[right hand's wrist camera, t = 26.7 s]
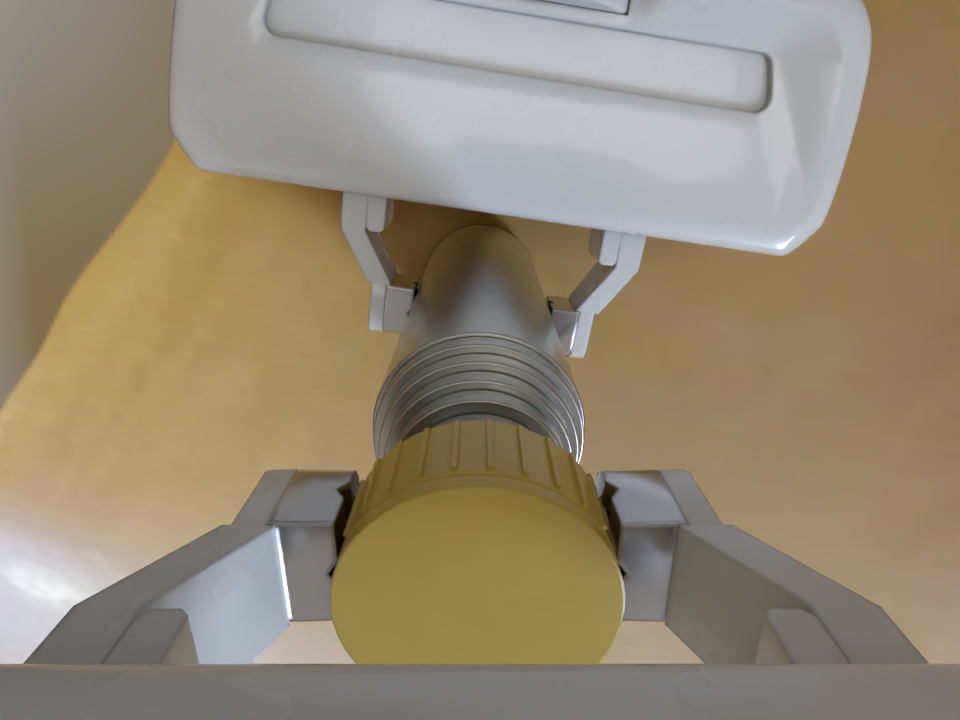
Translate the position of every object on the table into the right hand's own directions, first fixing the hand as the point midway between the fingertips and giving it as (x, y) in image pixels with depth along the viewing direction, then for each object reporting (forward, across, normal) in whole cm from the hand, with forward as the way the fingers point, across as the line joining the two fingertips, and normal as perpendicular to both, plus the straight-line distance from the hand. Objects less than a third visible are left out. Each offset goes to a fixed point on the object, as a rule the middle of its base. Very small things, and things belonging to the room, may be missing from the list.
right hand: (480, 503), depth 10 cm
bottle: (+17, 0, 0) cm, 17 cm away
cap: (-2, 0, 0) cm, 2 cm away
